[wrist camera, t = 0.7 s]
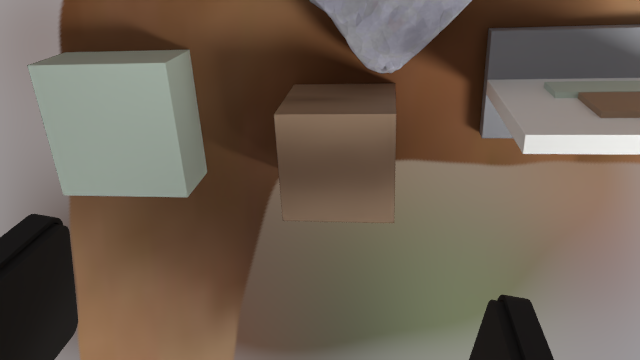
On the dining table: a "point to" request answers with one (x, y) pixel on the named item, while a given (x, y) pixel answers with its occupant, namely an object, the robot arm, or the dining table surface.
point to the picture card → (564, 89)
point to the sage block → (122, 122)
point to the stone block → (389, 27)
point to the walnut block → (337, 152)
